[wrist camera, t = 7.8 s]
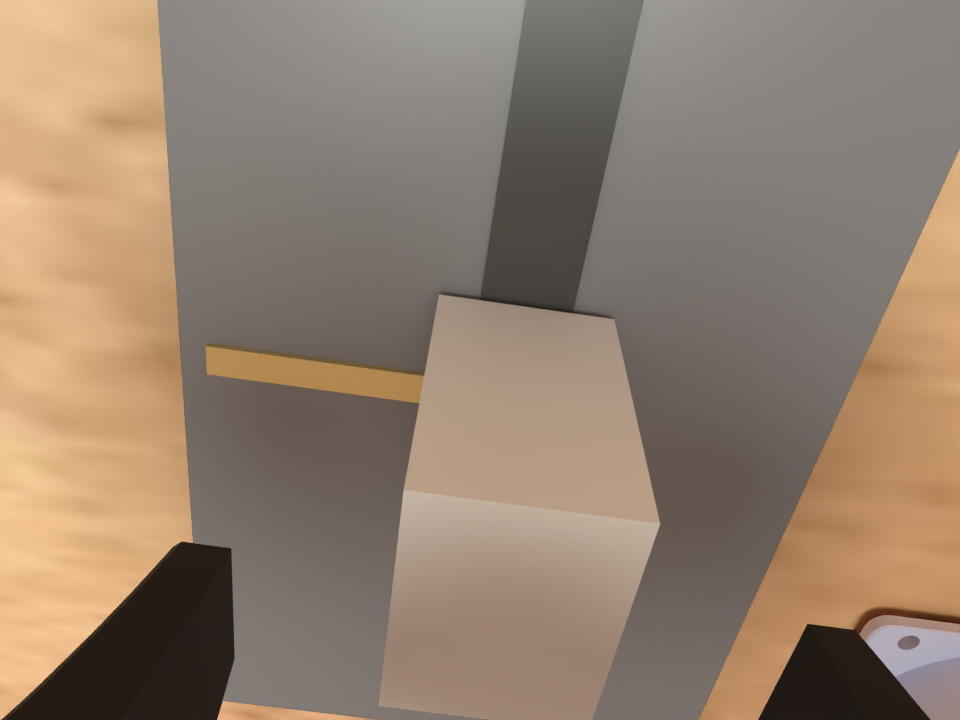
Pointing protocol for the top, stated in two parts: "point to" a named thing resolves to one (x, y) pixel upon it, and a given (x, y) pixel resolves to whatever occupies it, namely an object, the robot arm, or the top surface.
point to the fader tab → (517, 518)
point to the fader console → (530, 278)
